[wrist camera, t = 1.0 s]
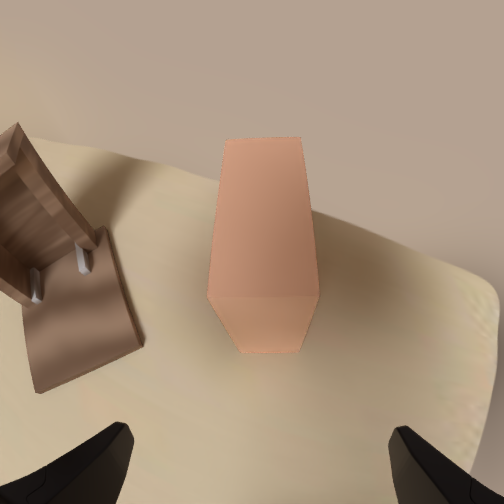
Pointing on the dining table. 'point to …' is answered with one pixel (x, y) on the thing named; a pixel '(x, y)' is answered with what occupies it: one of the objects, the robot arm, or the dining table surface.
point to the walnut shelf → (57, 272)
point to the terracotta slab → (264, 246)
